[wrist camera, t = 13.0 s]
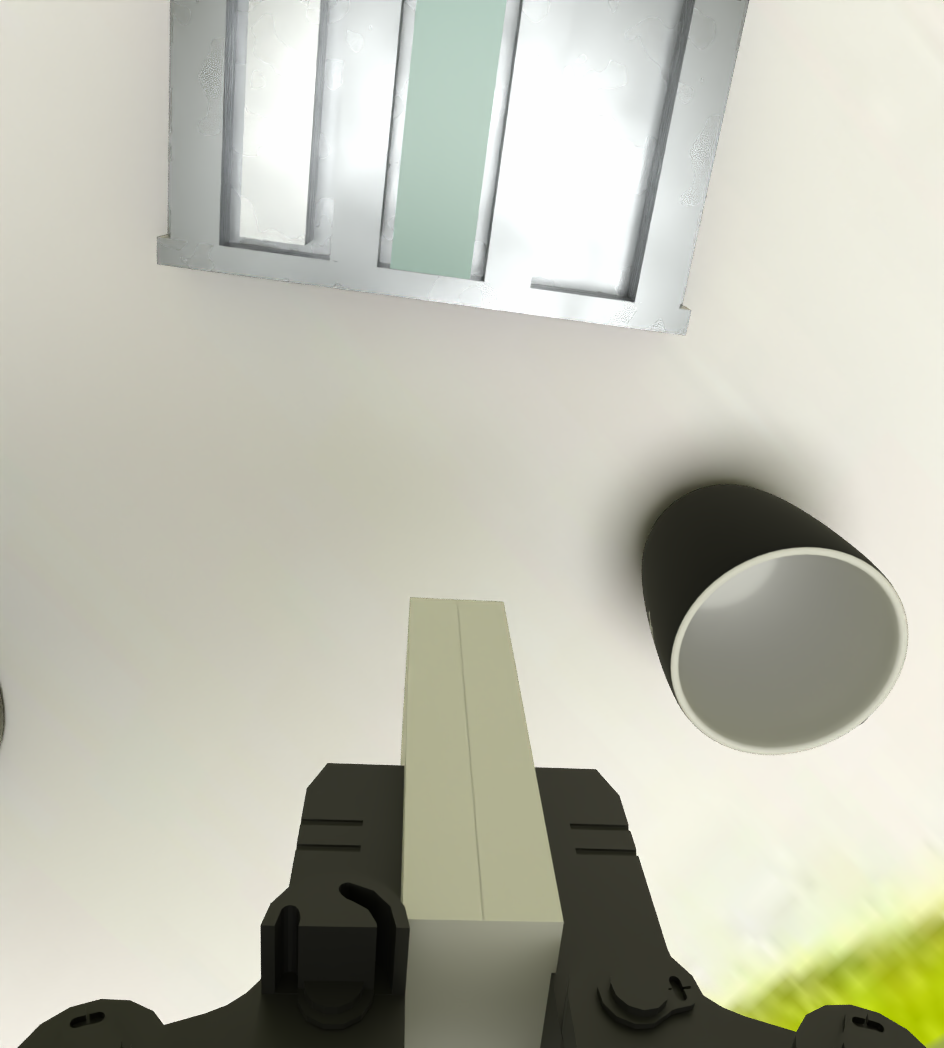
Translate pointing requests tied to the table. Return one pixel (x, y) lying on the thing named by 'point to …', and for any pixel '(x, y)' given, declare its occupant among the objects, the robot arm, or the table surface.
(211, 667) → the table surface
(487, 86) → the block
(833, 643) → the mug
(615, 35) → the rack
